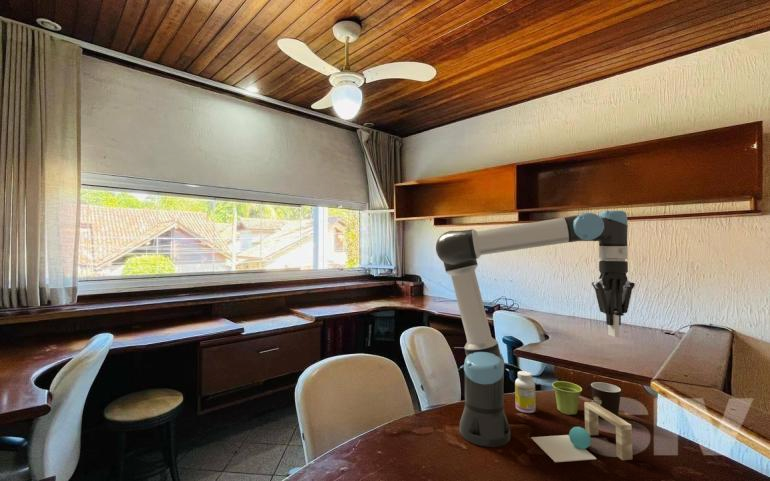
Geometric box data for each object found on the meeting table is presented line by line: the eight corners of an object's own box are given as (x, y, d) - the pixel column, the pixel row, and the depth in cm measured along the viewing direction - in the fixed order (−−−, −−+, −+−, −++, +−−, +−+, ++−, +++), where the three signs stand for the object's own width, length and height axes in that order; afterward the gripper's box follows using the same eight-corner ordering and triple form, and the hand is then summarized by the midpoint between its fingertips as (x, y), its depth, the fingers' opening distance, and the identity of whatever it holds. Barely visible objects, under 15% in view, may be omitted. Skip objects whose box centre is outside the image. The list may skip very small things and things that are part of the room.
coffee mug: (626, 424, 111) (626, 393, 111) (597, 421, 113) (596, 391, 113) (610, 408, 122) (610, 380, 123) (584, 406, 124) (583, 378, 124)
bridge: (622, 460, 92) (621, 425, 92) (585, 432, 106) (584, 402, 107) (632, 459, 92) (631, 424, 92) (594, 431, 107) (593, 401, 107)
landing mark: (555, 462, 91) (555, 461, 91) (531, 438, 103) (531, 437, 103) (596, 459, 92) (596, 458, 92) (568, 435, 104) (568, 434, 104)
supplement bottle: (517, 403, 126) (516, 368, 127) (536, 407, 123) (535, 371, 123) (513, 411, 121) (513, 374, 121) (534, 415, 117) (533, 377, 118)
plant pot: (583, 409, 122) (582, 384, 122) (582, 420, 114) (581, 393, 114) (554, 403, 127) (553, 379, 127) (551, 413, 119) (550, 388, 119)
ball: (598, 445, 96) (583, 456, 95) (585, 435, 101) (570, 445, 101) (590, 429, 96) (574, 440, 95) (576, 419, 101) (561, 429, 100)
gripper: (602, 260, 103) (603, 339, 102) (642, 260, 104) (643, 338, 103) (585, 259, 110) (585, 333, 109) (622, 260, 111) (623, 332, 111)
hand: (613, 335), depth 106 cm, fingers closed
